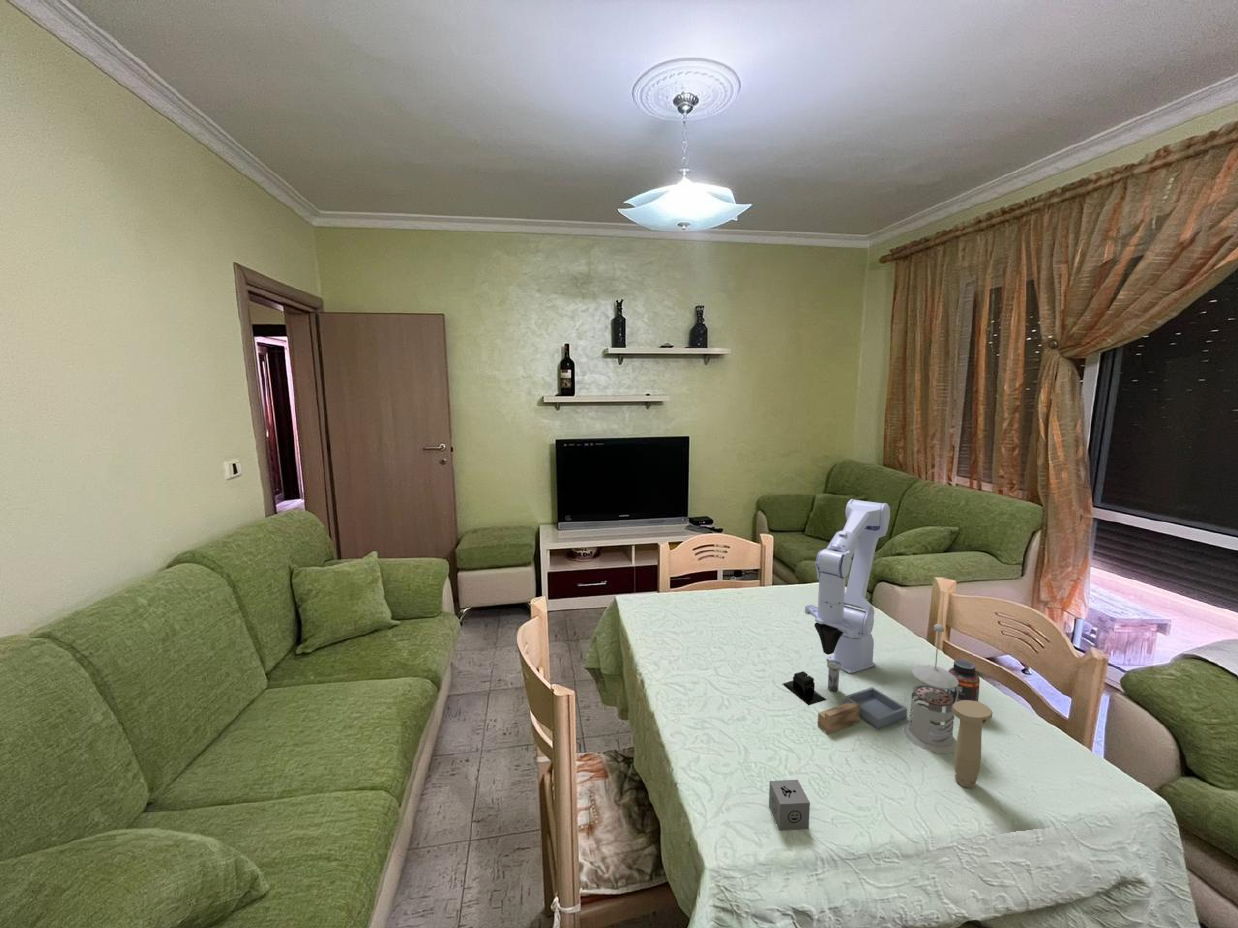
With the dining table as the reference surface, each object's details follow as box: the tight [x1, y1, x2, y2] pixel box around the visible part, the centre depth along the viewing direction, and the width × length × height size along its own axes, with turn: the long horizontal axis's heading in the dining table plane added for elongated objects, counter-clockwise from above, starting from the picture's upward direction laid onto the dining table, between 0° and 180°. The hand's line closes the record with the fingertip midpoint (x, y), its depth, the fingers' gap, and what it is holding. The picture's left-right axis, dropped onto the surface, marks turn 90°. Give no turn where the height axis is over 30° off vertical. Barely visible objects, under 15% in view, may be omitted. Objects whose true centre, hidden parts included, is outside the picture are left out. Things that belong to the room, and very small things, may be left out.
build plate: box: [781, 670, 828, 706], centre depth 121 cm, size 12×7×5 cm, turn 22°
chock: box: [817, 702, 860, 735], centre depth 109 cm, size 9×3×4 cm, turn 114°
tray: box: [843, 686, 908, 731], centre depth 113 cm, size 9×9×2 cm
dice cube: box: [768, 779, 811, 832], centre depth 86 cm, size 5×5×5 cm
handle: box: [952, 700, 994, 789], centre depth 92 cm, size 5×6×15 cm
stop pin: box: [826, 660, 842, 693], centre depth 122 cm, size 3×3×7 cm
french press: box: [903, 623, 959, 754], centre depth 104 cm, size 10×12×25 cm
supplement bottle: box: [946, 658, 981, 703], centre depth 113 cm, size 6×6×11 cm
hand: (828, 652), depth 121 cm, fingers closed
